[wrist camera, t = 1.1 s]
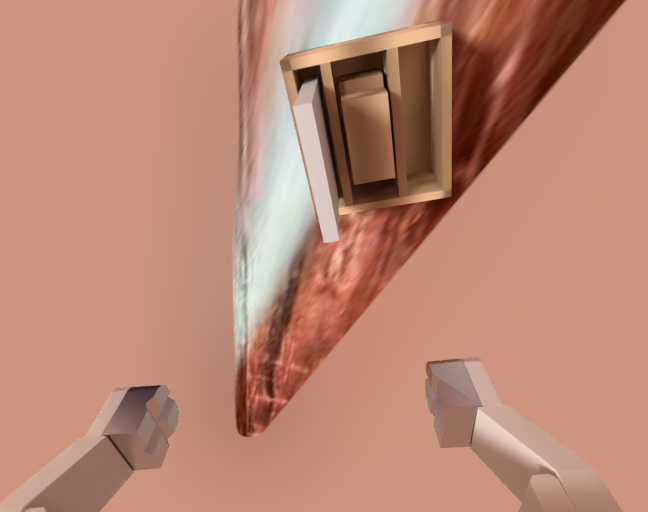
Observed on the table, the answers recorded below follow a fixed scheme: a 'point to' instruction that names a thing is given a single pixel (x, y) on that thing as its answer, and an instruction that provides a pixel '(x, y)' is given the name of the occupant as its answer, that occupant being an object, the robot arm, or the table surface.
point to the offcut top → (369, 135)
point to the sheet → (318, 155)
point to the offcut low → (360, 81)
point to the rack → (404, 107)
